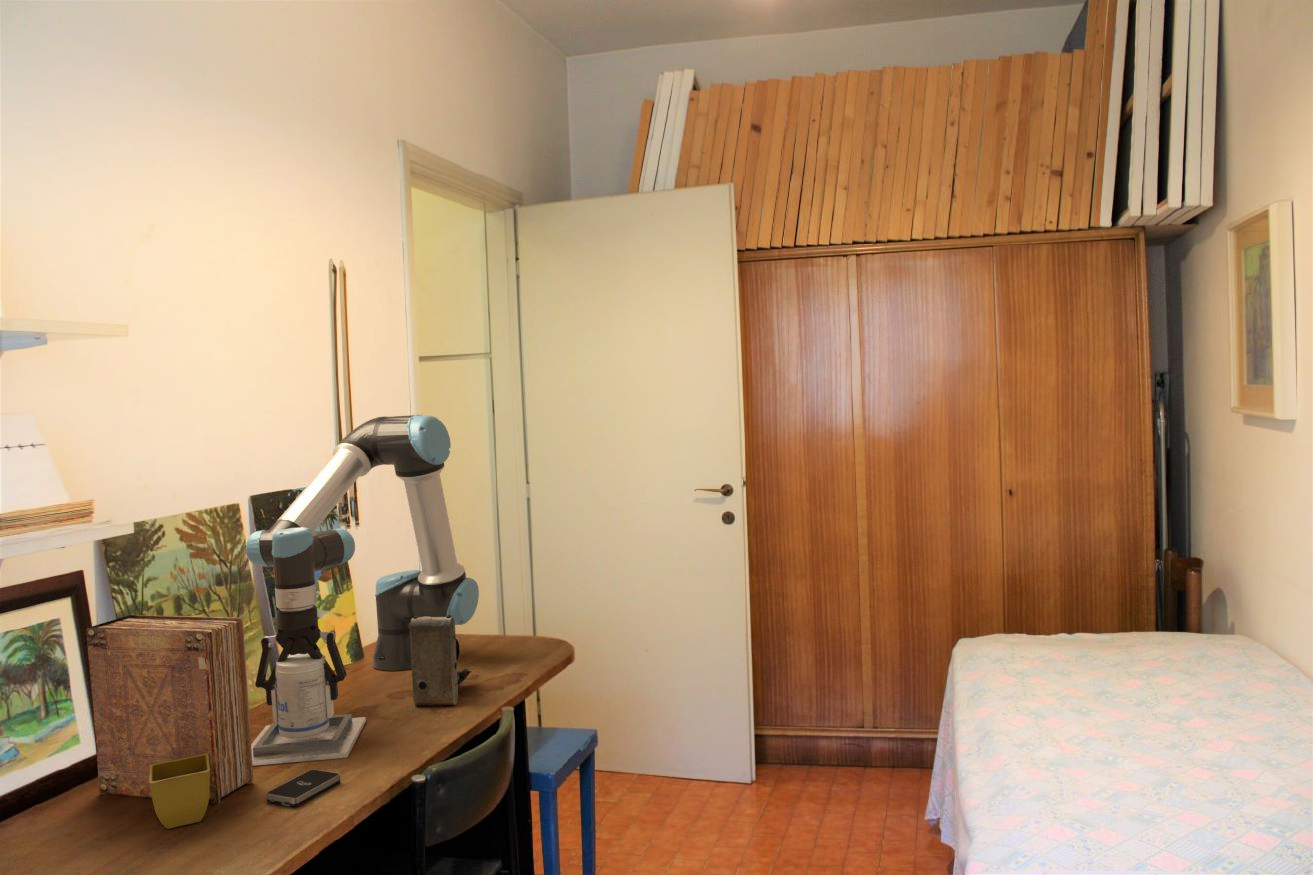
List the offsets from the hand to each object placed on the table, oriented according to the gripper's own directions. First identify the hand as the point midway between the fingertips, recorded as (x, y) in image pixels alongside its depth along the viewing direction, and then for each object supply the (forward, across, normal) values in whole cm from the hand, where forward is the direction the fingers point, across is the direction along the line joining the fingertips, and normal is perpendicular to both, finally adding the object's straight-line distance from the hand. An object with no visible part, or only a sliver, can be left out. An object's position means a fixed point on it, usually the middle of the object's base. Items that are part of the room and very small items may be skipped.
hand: (303, 718), depth 189 cm
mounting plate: (+5, 0, 0) cm, 5 cm away
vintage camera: (+5, +25, +23) cm, 34 cm away
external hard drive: (+6, +6, -25) cm, 26 cm away
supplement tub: (+3, 0, 0) cm, 3 cm away
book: (+5, -18, -18) cm, 26 cm away
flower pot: (+5, -12, -32) cm, 35 cm away
